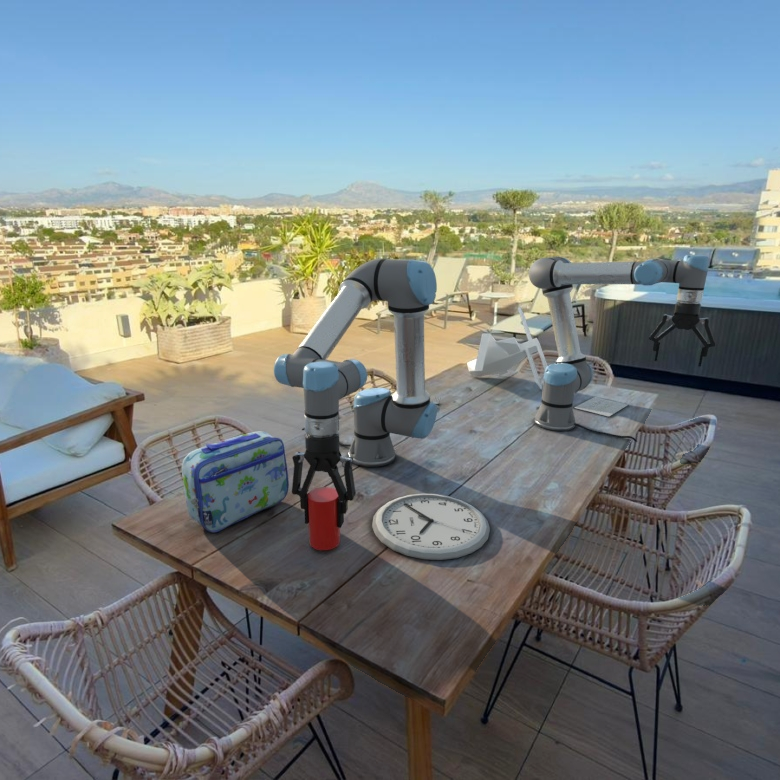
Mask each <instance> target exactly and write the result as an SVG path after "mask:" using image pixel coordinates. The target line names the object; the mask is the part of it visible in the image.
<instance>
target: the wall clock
mask: <svg viewBox="0 0 780 780" xmlns="http://www.w3.org/2000/svg"><path fill="white" fill-rule="evenodd" d="M371 527H372V530H373V533H374V535H375V537H376V538H377V539H378V540H379V541H380V543H381V544H383V545H385V546H386V547H387V548H389V549H390V550H392V551H393V552H397V553H399V554H402V555H404V556H406V557H411V558H416V559H421V560H433V561H435V560H437V561H443V560H444V561H445V560H451V559H452V560H453V559H458V558H461V557H465V556H468V555H470V554H473V553H474V552H476V551H477V550H479V549H481V548H482V547H483V546H484V545H485V543H486V542H487V541H488V540H489V536H490V532H491V528H490V524H489V521H488V519H487V518H486V516H485V515H484V514H483V512H481V511H480V510H479V509H477V508H476V507H475V506H473V505H472V504H470V503H468V502H466V501H464V500H461V499H459V498H455V497H452V496H449V495H444V494H437V493H416V494H407V495H404V496H399V497H396V498H395V499H392V500H390V501H388V502H386V503H385V504H383V505H382V506H381V507H379V508H378V509H377V511H376V512H375V513H374V515H373V517H372V524H371Z"/></svg>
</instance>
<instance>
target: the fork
mask: <svg viewBox="0 0 780 780" xmlns="http://www.w3.org/2000/svg"><path fill="white" fill-rule="evenodd" d="M441 398H442V396H441V397H440V396H436V397H435V398H434V400H433V402H434V403H435V404H436V405H439V404H440V402H441Z"/></svg>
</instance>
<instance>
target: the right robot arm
mask: <svg viewBox="0 0 780 780" xmlns="http://www.w3.org/2000/svg"><path fill="white" fill-rule="evenodd" d="M709 263H710V258H709V256H708V255H701V254H686V255H684V256H683V259H682V260H670V259H658V258H653V259H652V258H651V259H647V260H643V261H602V262H601V261H599V262H598V261H597V262H571V260H569V259H568V258H565V257H563V256H551V257H541V258H538V259H537V260H535V261H534V262H533V263H532V264H531V266H530V267H529V270H528V278H529V282H530V283H531V284H532V285H533V286H534V287H535V288H537V289H541V293H542V296H544V297H545V298H546V299H547V303H548V308H549V313H550V318H551V323H552V329H553V335H554V340H555V345H556V350H557V356H558V357H557V359H555V363H551V364H549V365H548V367H547V368H546V369H545V370H544V373H543V381H542V382H543V383H542V390H541V391H542V394H541V402H540V405H539V406H536V408H535V410H537V411H536V413H535V417H534V424H535V425H536V426H537V427H539V428H542V429H544V430H549V431H556V432H567V431H572V430H574V429H575V428H576V426H577V427H578V428H582V429H583V430H585V431H588V432H591V433H593V434H594V433H595V434H599V435H605V436H609V437H615V438H620V439H631V440H633V441H634V442H636V443H638V440H637V438H635V437H634V436H631V435H619V434H615V433H609V432H604V431H599V430H594V429H591V428H588V427H586V426H583V425H582V424H578V423H576V418H575V417H576V416H575V413H574V407H573V405H574V398H575V394H576V393H578V392H580V391H583V390H584V389H586V388H587V387H588V386H589V385H590V384H591V382H592V381H593V378H594V370H593V368H592V366H591V365H590V364H589V363H588V362H587V357H586V355H585V354H584V353H582V351H581V347H580V340H579V335H578V330H577V325H576V319H575V314H574V308H573V303H572V298H571V297H572V296H571V292H572V290H573V289H574V286H573V285H635V286H636V285H638V286H639V285H640V286H653V285H656V284H660V283H666V284H667V283H668V284H678V289H677V294H676V302H675V305H674V311H673V315H669V314H666V313H664V314H663V316H662V319H661V321H660V322H659V323H658V325H657V326H656V328H655V329H654V330H653V331H652V333H651V334H650V335H649V337H648V340H649V341H652V342H653V346H652V351H653V352H655V355H654V362H657V361H658V358H659V352H660V347H661V340H662V339H664V337H666V336H667V335H669V334H670V333H671V332H672V331H673V330H675V329H678V330H685V331H690V330H692V332H693V333H694V334H695V335H696V337H697V338H698V340H699V341H700V343H701V344H702V345H701V348H700V354H699V359H698V362H697V363H698V364H697V365H698V367H702V362H703V358H707V356H708V352H709V349H710V348H712V347H715V346H716V342H715V338H714V336H713V333H712V331H711V327H710V325H709V324H710V323H709V322H710V320H709V317H703V318H702V317H700V311H701V307H702V304H701V303H702V301H703V297H704V292H705V286H706V281H707V277H708V272H709ZM670 320H671V321H672V323H673V324H671V325H670V326H669V327H668V328H666V329H665V330H664V331H662V332H661V333H660V334H659V335H658V336H657V334H658V333H659V332H660V330H661V329H662V328H663V327H664V325H665V324H666V323H667V322H669V321H670ZM699 323H701V325H703V326H704V329H705V332H706V334H707V338H708V340H709V342H708V341H707V339H706V338H705V337H704V335H703V334H702V332H700V329H699V328H698V327H697V326H696V325H698V324H699ZM656 336H657V337H656Z"/></svg>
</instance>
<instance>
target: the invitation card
mask: <svg viewBox="0 0 780 780" xmlns="http://www.w3.org/2000/svg"><path fill="white" fill-rule="evenodd" d="M628 406H629V404H627V403H623V402H618V401H614V400H609V399H605V398H601V397H596V396H593V397H592V398H590V399H588V400H586V401H584V402H582V403H580V404H578V405H575V406H574V407H573V409H575V410H581V411H584V412H587V413H593V414H596V415H600V416H604V417H608V418H609V417H611V416H613V415H614V414H616V413H617V412H619V411H621V410H623V409H624V408H626V407H628Z"/></svg>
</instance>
